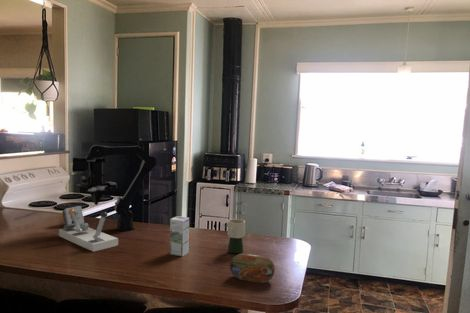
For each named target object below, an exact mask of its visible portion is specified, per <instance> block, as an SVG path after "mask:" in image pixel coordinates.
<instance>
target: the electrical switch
mask: <svg viewBox="0 0 470 313" xmlns="http://www.w3.org/2000/svg"><path fill="white" fill-rule="evenodd" d="M82 208H83V207H82V205H78V206H72V207H67V208H64V210H62V212H61V213H62V217H63V224H64V225H68V224H74V222H73V219H72V217H71V215H70V214H69V213H68V211H69V210H70V209H74V210H75V215H76V218H77V220H78V222H79V225H80V224H82V223H85V219H84V215H83V214H84V212H83V209H82ZM74 225H75V224H74Z"/></svg>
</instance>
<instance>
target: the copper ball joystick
mask: <svg viewBox="0 0 470 313" xmlns="http://www.w3.org/2000/svg"><path fill="white" fill-rule="evenodd" d="M68 213H69V214H70V215H71V217H72V219H73V222H74V224H75V226H76V229H77V230H76V231H77V232H79V233H83V230H82V229H81V227H80V225H79V222H78V220H77V218H76V215H75V210H74V209H70V210H69V211H68Z"/></svg>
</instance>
